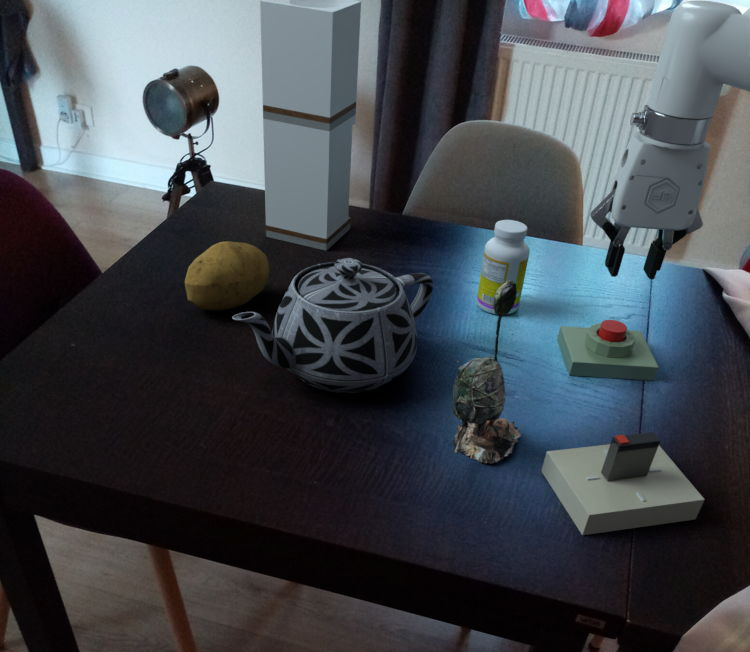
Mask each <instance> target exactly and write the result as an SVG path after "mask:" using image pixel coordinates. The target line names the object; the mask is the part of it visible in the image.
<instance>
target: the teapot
mask: <svg viewBox="0 0 750 652" xmlns="http://www.w3.org/2000/svg"><path fill="white" fill-rule="evenodd" d="M414 285H419V287H418V291H417V293H416V295H415V297H414V299H413V300H412V302H411V303H410V302H409V299H408V297H407V295H406V292H405V290H404V288H407V287H410V286H414ZM433 290H434V281H433V278H432V277H431V276H430V275H428V274H426V273H423V272H415V273H412V272H411V273H407V274H404V275H400V276H396V277H395V275H393V274H391V273H389V272H388V271H387V270H384V269H383V268H380V267H378V266H374V265H371V264H366V263H363V262H361V261H360V260H358V259H356V258H353V257H343V258H339V259H337V260H336V261H330V262H323V263H318V264H315V265H311V266H308V267H306V268H304V269H302V270H301V271H300V272H298V273H297V274H296V275H295V276H294V277H293V278H292V280H291V282H290V284H289V285H288V287H287V290H286V291H285V293H284V296H283V297H282V300H281V302H280V303H279V306H278V308H277V312H276V314H275V317H274V320H273V324H272V330H271V328H270V326H269V324H268V321H267V320H266V319H265V318H264V316H263V315H261V314H260V313H259V312H255V311H245V312H239V313H237V314H234V315H233V316H232V317H231V318H232V320H234V321H237V322H242V323H245V324H247V325H248V326H249V327H251V329H252V331H253V334H254V336H255V339H256V343H257V346H258V348H259V351H260V353H261V354H262V356H263V357H264V358H265V359H266V360H267V361H268V362H269V363H270V364H272V365H274V366H275V367H278V368H282V369H287V370H288V371H289V372H290V373H291V374H293V375H294V376H295V377H296V378H299V379H300V380H301V381H303V382H304V383H305V384H307V385H309V386H311V387H314V388H315V389H319V390H322V391H325V392H331V393H337V394H356V393H357V394H359V393H363V392H369V391H371V390H376V389H378V388H380V387H382V386H384V385H386V384H387V383H389V382H391V381H392V380H394V379H396V378H397V377H399V376H401V375H402V374H403V373H404V372H405V371H406V370H407V369H408V368H409V366H410V365H411V364H412V362H413V361H414V358H415V357H416V353H417V349H418V330H417V325H416V319H417V318H419V316H420V315H421V314H422V313H423V311H424V309H425V308H426V307H427V305H428V303H429V301H430V300H431V297H432V294H433Z"/></svg>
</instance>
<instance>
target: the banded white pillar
mask: <svg viewBox="0 0 750 652" xmlns="http://www.w3.org/2000/svg"><path fill="white" fill-rule="evenodd" d="M259 9H260V11H259V12H260V45H261V50H260V51H261V86H262V87H261V88H262V91H261V92H262V125H263V126H262V128H263V129H262V131H263V167H264V168H263V170H264V206H265V207H264V208H265V211H264V212H265V237H267V238H270V239H274V240H279V241H283V242H286V243H287V242H288V243H292V244H296V245H299V246H304V247H309V248H312V249H318V250H321V251H325V252H327V251H328V250H329V249H330V248H331V247H332V246H333V245H334V244H335V243H337V242H338V241H339V240H340V239H341V238H342V237H343V236H344V235H345V234H346V233H348V231H350V230H351V223H352V222H351V219H352V218H351V217H350V216H349V212H350V189H351V171H352V170H351V167H352V150H353V149H352V147H353V146H352V144H353V126H354V125H355V124H356V118H357V117H356V115H357V96H358V94H357V93H358V78H359V77H358V76H359V75H358V74H359V56H360V35H361V33H360V32H361V14H362V13H361V11H362V1H361V0H289V3H285V2H280V1H279V2H278V1H272V0H259Z"/></svg>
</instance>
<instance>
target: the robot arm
mask: <svg viewBox="0 0 750 652" xmlns="http://www.w3.org/2000/svg"><path fill="white" fill-rule="evenodd" d="M654 72H655V74H654V77H653V80H652V84H651V88H650V90H649V95H648V98H647V102H646V104H645V105H644V107H643V109H642V111H639V112H632V113H631V116H630V119H629V125H630V126H635V127H636V128H638V130H639V131H635V132H633V134H632V136H631V137H630V139H629V141H628V144H627V146H626V148H625V150H624V153H623V155H622V157H621V160H620V162H619V164H618V167H617V171H616V173H615V176H614V178H613V182H612V185H611V188H610V191H609V193H608V195H607V196H605V197H604V198H603V199H602V201H601V202H600V203H598V204H597V205H596V206H595V208H593V210H591V212H590V214H589V215H590V218H591V220H592V221H593V222H594V223H595V224H596V226H598V227H599V228H600V229H601V230H602V231H603V232H604V233H605V234H606V236H607V237H608V239H609V241H610V242H609V245H608V249H607V253H606V256H605V260H604V265H605V268H607V271H608V273H609V274H610V277H613V278H616V277H618V276H619V272H620V269H621V266H622V261H623V258H624V255H625V252H626V247H625V246H624V243H625V240H626V238H627V236H628V234H629V233H630V230H631V228H633V229H645V230H646V229H647V230H657V235H656V239H655V240H652V242H650V244H649V248H648V252H647V255H646V259H645V262H644V265H643V271H644V274H645V275H646V276H647V279H649V280H655V279H656V275H657V272H660V270H661V269H662V265H663V263H664V259H665V257H666V254H667V251H669V250H671V249H672V248H673V245H675V244H676V243H678V242H679V241H680V240H682V239H683V238H685V237H686V236H687V235H689V234H692V233H693V232H695V231H697V230H699V229H701V228H702V227H703V225H704V222H703V220H702V217H701V213H700V210H699V205H700V202H701V197H702V193H703V190H704V186H705V182H706V176H707V171H708V166H709V162H710V161H709V160H710V154H711V153H710V152H711V144H710V143H709V142H708V141H706V138H707V135H708V131H709V129H710V126H711V123H712V120H713V117H714V114H715V111H716V108H717V104H718V102H719V98H720V95H721V93H722V90H723V87H724V85H726V86H729V87H733V88H737V89H740V90H743V91H747V92H749V93H750V7H749V8H747V10H746V11H744V12H743V13H742V12H741V10H740V9H738V8H737V7H735V6H734V5H731V4H727V3H722V2H718V1H711V0H686V1H683V2H681V3H679V4H678V5H677V6H676V7H675V9H674V10H673V11H672V13H671V16H670V19H669V22H668V25H667V29H666V33H665V36H664V40H663V44H662V48H661V51H660V54H659V58H658V62H657V65H656V69H655V71H654ZM609 213H611V218H612V220H613V221H614V223H613V222H612V221H611V219H609V218H608V217H607V215H608V214H609Z"/></svg>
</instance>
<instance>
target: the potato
mask: <svg viewBox="0 0 750 652" xmlns="http://www.w3.org/2000/svg"><path fill="white" fill-rule="evenodd" d="M269 274H270V266H269V260H268V257H267V255H266V253H264V252H263V251H262V250H261V249H259V248H258V247H257V246H255V245H253V244H250V243H247V242H237V241H228V240H227V241H220V242H217V243H215V244H213V245H211V246H210V247H208V248H207V249H206V250H205V251H203V252H202V253H201V254H200V255H198V256H196V258H195V259H194V260H193V261H192V263H190V265H188V268H187V271H186V275H185V279H184V288H185V293H186V298H187V301H189V302H190V303H191V304H193V305H194V306H196V307H197V308H198V309H200V310H204V311H216V312H217V311H226V310H231V309H236V308H238V307H241V306H243V305H246V304H247V303H249V302H250V301H251V300H252V299H253V298H255V297H256V296H257V295H259V294H260V293H261V292H262V291H264V289H265V287H266V284H267V282H268V279H269Z"/></svg>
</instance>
